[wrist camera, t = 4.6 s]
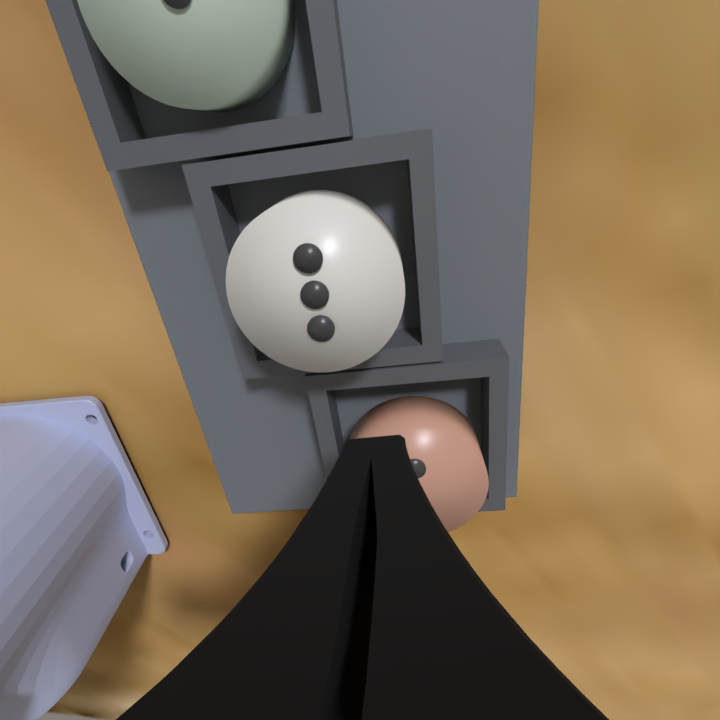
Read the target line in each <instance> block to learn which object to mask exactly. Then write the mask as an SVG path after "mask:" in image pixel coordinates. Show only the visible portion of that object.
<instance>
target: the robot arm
mask: <svg viewBox="0 0 720 720" xmlns="http://www.w3.org/2000/svg"><path fill="white" fill-rule="evenodd" d="M92 415H93V416H95V417H96V418H97V419H95V418H94V417H93V416H92ZM167 546H168V542H167V539H166V537H165V535H164V533H163V531H162V529H161V527H160V525H159V523H158V520H157V518H156V516H155V514H154V512H153V510H152V508H151V506H150V504H149V501H148V499H147V497H146V495H145V493H144V491H143V489H142V487H141V485H140V482H139V480H138V478H137V476H136V474H135V472H134V470H133V468H132V466H131V463H130V461H129V459H128V457H127V455H126V453H125V451H124V449H123V447H122V445H121V442H120V440H119V438H118V436H117V434H116V432H115V430H114V428H113V426H112V423H111V421H110V419H109V417H108V415H107V413H106V411H105V409H104V407H103V404H102V403H101V402H100V400H98V399H97V398H95V397H93V396H78V397H67V398H56V399H45V400H34V401H23V402H12V403H1V404H0V720H38V719H39V718H40V717H42V716H43V715H44V714H45V713H46V712H47V711H48V710H49V709H51V708H52V707H53V706H54V705H55V704H56V703H57V702H58V701H59V700H60V699H61V698H62V697H63V695H64V694H65V693H66V692H67V691H68V690H69V689H70V687H71V686H72V685H73V684H74V682H75V681H76V680H77V678H78V677H79V676H80V674H81V673H82V671H83V669H84V668H85V666H86V665H87V663H88V661H89V659H90V658H91V656H92V654H93V652H94V650H95V649H96V647H97V645H98V643H99V641H100V640H101V638H102V636H103V634H104V632H105V631H106V629H107V627H108V625H109V623H110V622H111V620H112V618H113V616H114V614H115V613H116V611H117V609H118V607H119V605H120V604H121V602H122V600H123V598H124V596H125V595H126V593H127V591H128V589H129V587H130V586H131V584H132V582H133V580H134V578H135V577H136V575H137V573H138V571H139V569H140V568H141V566H142V564H143V562H144V560H145V559H146V557H147V555H148V554H160V553H163V552H165V550H166V548H167ZM116 720H609V719H608V718H607V717H606V716H605V715H604V714H603V713H602V712H601V711H600V710H599V709H598V708H597V707H596V706H595V705H593V704H592V703H591V702H590V701H589V700H588V699H587V698H586V697H585V696H584V695H583V694H582V693H581V692H580V691H579V690H578V689H577V688H576V687H575V686H574V684H573V683H572V682H571V681H570V680H569V679H568V678H567V677H566V676H565V675H564V674H563V673H562V672H561V671H560V670H559V669H558V668H557V667H556V666H555V665H554V664H553V663H552V662H551V661H550V659H549V658H548V657H547V656H546V655H545V654H544V653H543V652H542V651H541V650H540V649H539V648H538V647H537V645H536V644H535V643H534V642H533V641H532V640H531V639H530V638H529V637H528V636H527V634H526V633H525V632H524V631H523V630H522V629H521V627H520V626H519V625H518V624H517V623H516V621H515V620H514V619H513V618H512V617H511V616H510V614H509V613H508V612H507V611H506V610H505V609H504V607H503V606H502V605H501V604H500V603H499V601H498V600H497V599H496V598H495V597H494V596H493V594H492V593H491V592H490V591H489V589H488V588H487V587H486V585H485V584H484V583H483V581H482V580H481V579H480V578H479V576H478V575H477V574H476V572H475V571H474V570H473V568H472V567H471V566H470V564H469V563H468V561H467V560H466V559H465V557H464V556H463V554H462V553H461V552H460V550H459V549H458V547H457V546H456V544H455V543H454V541H453V540H452V538H451V536H450V535H449V533H448V532H447V530H446V529H445V527H444V525H443V524H442V522H441V520H440V519H439V517H438V515H437V514H436V512H435V510H434V508H433V507H432V505H431V503H430V501H429V499H428V497H427V495H426V493H425V492H424V490H423V488H422V486H421V484H420V482H419V480H418V477H417V475H416V473H415V471H414V468H413V466H412V463H411V461H410V458H409V455H408V452H407V448H406V442H405V438H404V437H402V436H401V435H390V436H379V437H367V438H356V439H348V440H347V441H346V443H345V444H344V446H343V448H342V451H341V453H340V455H339V457H338V459H337V461H336V463H335V465H334V467H333V469H332V471H331V473H330V474H329V476H328V478H327V480H326V482H325V484H324V485H323V487H322V489H321V490H320V492H319V494H318V496H317V497H316V499H315V501H314V502H313V504H312V506H311V507H310V509H309V511H308V512H307V514H306V515H305V517H304V518H303V520H302V521H301V523H300V524H299V526H298V527H297V529H296V530H295V532H294V533H293V535H292V536H291V538H290V539H289V540H288V542H287V543H286V545H285V546H284V547H283V549H282V550H281V551H280V553H279V554H278V555H277V557H276V558H275V559H274V561H273V562H272V563H271V564H270V566H269V567H268V568H267V570H266V571H265V572H264V573H263V575H262V576H261V577H260V578H259V579H258V581H257V582H256V583H255V584H254V585H253V586H252V588H251V589H250V590H249V591H248V592H247V593H246V595H245V596H244V597H243V598H242V599H241V600H240V601H239V603H238V604H237V605H236V606H235V607H234V608H233V609H232V610H231V612H230V613H229V614H228V615H227V616H226V617H225V618H224V619H223V620H222V621H221V622H220V623H219V624H218V626H217V627H216V628H215V629H214V630H213V631H212V632H211V633H209V634H208V635H207V636H206V637H205V638H204V639H203V640H202V641H201V642H200V643H199V644H198V645H197V646H196V647H195V648H194V649H193V650H192V651H191V652H190V653H189V654H188V655H187V656H186V657H185V658H184V659H183V660H182V661H181V662H180V663H179V664H178V665H177V666H176V667H175V668H174V669H173V670H172V671H171V672H170V673H169V674H168V675H167V676H166V677H164V678H163V679H162V680H161V681H160V682H159V683H158V684H157V685H156V686H154V687H153V688H152V689H151V690H150V691H149V692H147V693H146V694H145V695H144V696H143V697H142V698H141V699H139V700H138V701H137V702H136V703H135V704H134V705H132V706H131V707H130V708H129V709H128V710H127V711H126V712H124V713H123V714H122V715H121V716H120V717H119V718H117V719H116Z"/></svg>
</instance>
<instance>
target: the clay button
mask: <svg viewBox="0 0 720 720" xmlns="http://www.w3.org/2000/svg"><path fill="white" fill-rule="evenodd" d="M390 435H401V436H402V437H404V438H405V442H406V448H407V452H408V455H409V458H410V461H411V463H412V466H413V468H414V471H415V473H416V475H417V477H418V480H419V482H420V484H421V486H422V488H423V490H424V492H425V493H426V495H427V497H428V499H429V501H430V503H431V505H432V507H433V508H434V510H435V512H436V514H437V515H438V517H439V519H440V520H441V522H442V524H443V525H444V527H445V529H446V530H447V532H449V531H452V530H454V529H456V528H458V527H460V526H462V525H463V524H465V523H466V522H468V521H469V520H470V519H471V518H472V517H473V516H474V515H475V514H476V513H477V512H478V511H479V510H480V508H481V507H482V505H483V503H484V501H485V499H486V497H487V493H488V487H489V479H488V473H487V469H486V466H485V463H484V460H483V456H482V453H481V450H480V446H479V443H478V440H477V436H476V433H475V431H474V428H473V426H472V425H471V423H470V421H469V420H468V419H467V418H466V417H465V415H464V414H463V413H461V412H460V411H459V410H458V409H456V408H455V407H453V406H452V405H450V404H448V403H446V402H444V401H441V400H438V399H435V398H430V397H424V396H405V397H398V398H394V399H390V400H387V401H385V402H382V403H380V404H378V405H376V406H374V407H373V408H372V409H370V410H369V411H367V412H366V413H365V414H364V415H363V416H362V417H361V418H360V419H359V421H358V422H357V423H356V425H355V426H354V428H353V430H352V433H351V435H350V439H356V438H367V437H379V436H390Z"/></svg>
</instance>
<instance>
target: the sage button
mask: <svg viewBox="0 0 720 720" xmlns="http://www.w3.org/2000/svg"><path fill="white" fill-rule="evenodd" d="M77 2H78V5H79V8H80V11H81V13H82V16H83V18H84V21H85V23H86V25H87V27H88V29H89V31H90V33H91V35H92V37H93V39H94V41H95V42H96V44H97V46H98V47H99V49H100V50H101V52H102V53H103V55H104V56H105V57H106V59H107V60H108V61H109V63H110V64H111V65H112V66H113V67H114V68H115V69H116V71H117V72H118V73H119V74H120V75H121V76H122V77H123V78H124V79H125V80H127V81H128V82H129V83H130V84H131V85H132V86H134V87H135V88H136V89H138V90H139V91H141V92H142V93H144V94H145V95H147V96H149V97H151V98H153V99H155V100H157V101H159V102H162V103H164V104H167V105H170V106H174V107H179V108H184V109H193V110H202V111H213V112H227V111H233V110H238V109H241V108H244V107H246V106H248V105H251V104H252V103H254V102H256V101H257V100H259V99H260V98H261V97H262V96H264V95H265V94H266V93H267V92H268V91H269V90H270V89H271V88H272V87H273V85H274V84H275V83H276V81H277V80H278V78H279V77H280V75H281V74H282V72H283V70H284V68H285V66H286V64H287V61H288V58H289V55H290V52H291V49H292V45H293V40H294V34H295V24H296V8H295V0H77Z"/></svg>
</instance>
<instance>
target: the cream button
mask: <svg viewBox="0 0 720 720" xmlns="http://www.w3.org/2000/svg"><path fill="white" fill-rule="evenodd" d="M226 293H227V298H228V302H229V306H230V309H231V311H232V314H233V316H234V318H235V320H236V322H237V324H238V326H239V327H240V329H241V330H242V332H243V333H244V335H245V336H246V337H247V338H248V339H249V341H250V342H251V343H252V344H253V345H254V346H255V347H256V348H258V349H259V350H260V351H261V352H263V353H264V354H265V355H267V356H268V357H270V358H271V359H273V360H275V361H276V362H279V363H281V364H283V365H285V366H288V367H291V368H294V369H297V370H302V371H307V372H317V373H322V372H335V371H341V370H344V369H348V368H351V367H354V366H356V365H358V364H361V363H362V362H364V361H366V360H368V359H369V358H371V357H372V356H373V355H375V354H376V353H377V352H378V351H379V350H380V349H381V348H382V347H383V346H385V344H386V343H387V342H388V341H389V339H390V338H391V337H392V335H393V333H394V332H395V330H396V328H397V326H398V324H399V321H400V319H401V316H402V312H403V308H404V302H405V280H404V273H403V266H402V260H401V253H400V250H399V247H398V243H397V241H396V239H395V237H394V234H393V233H392V231H391V229H390V228H389V226H388V225H387V223H386V222H385V221H384V220H383V218H382V217H381V216H380V215H379V214H378V213H377V212H376V211H375V210H374V209H372V208H371V207H370V206H368V205H367V204H366V203H364V202H362V201H361V200H359V199H357V198H355V197H353V196H350V195H347V194H345V193H341V192H337V191H332V190H309V191H304V192H299V193H296V194H293V195H291V196H288V197H286V198H285V199H283V200H281V201H279V202H278V203H276V204H275V205H273V206H272V207H270V208H269V209H267V210H266V211H264V212H263V213H262V214H260V215H259V216H258V217H256V218H255V219H254V220H252V221H251V222H250V223H249V224H248V225H247V226H246V227H245V228H244V230H243V231H242V233H241V234H240V235H239V237H238V238H237V240H236V242H235V244H234V246H233V248H232V250H231V253H230V256H229V259H228V263H227V268H226Z"/></svg>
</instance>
